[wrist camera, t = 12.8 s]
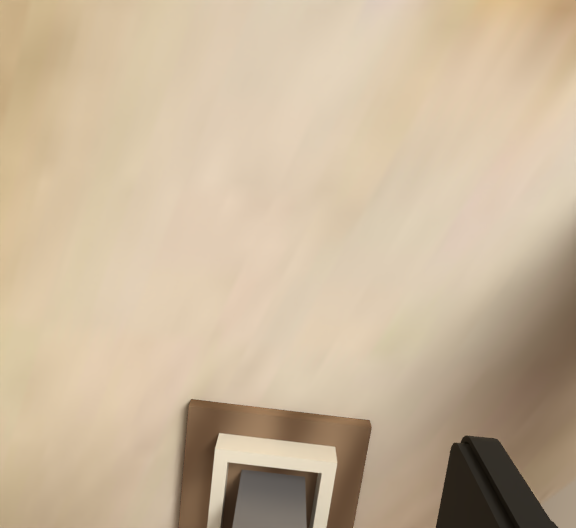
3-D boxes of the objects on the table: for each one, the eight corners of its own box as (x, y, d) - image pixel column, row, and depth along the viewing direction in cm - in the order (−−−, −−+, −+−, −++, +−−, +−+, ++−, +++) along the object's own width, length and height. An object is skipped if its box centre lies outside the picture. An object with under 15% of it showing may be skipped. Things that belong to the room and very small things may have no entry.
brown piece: (369, 420, 39) (375, 443, 36) (339, 586, 43) (342, 618, 40) (191, 399, 39) (182, 420, 36) (176, 567, 43) (168, 598, 40)
